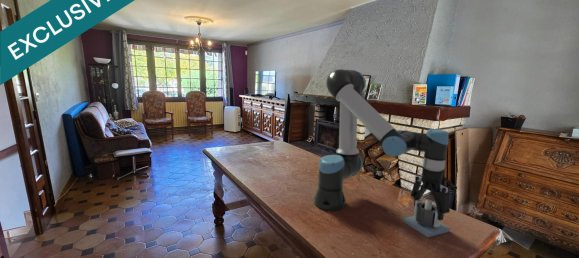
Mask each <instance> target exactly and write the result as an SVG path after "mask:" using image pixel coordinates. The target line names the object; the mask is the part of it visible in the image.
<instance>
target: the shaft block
mask: <svg viewBox="0 0 579 258" xmlns="http://www.w3.org/2000/svg"><path fill="white" fill-rule="evenodd" d="M424 203H425V210H430V211H431V208H432V205H433V201H432V200H431V199H425V202H424ZM415 216H416V215H412V216H408V217H403V222H404V223H405V224H406V225H408V226H409V227H411V228H412V229H414V230H415V231H417V232H419V233H420V234H421V235H423V236H425V237H426V238H430V237H434V236H438V235H442V234H445V233H449V232H450V229H451V228H450V227H448V226H447V225H445V224H443V223H442V222H441V224H440V226H439V227H434V226H433V227H430V226H426V225H422V224H421V223H419V222H417V221H416V218H415Z"/></svg>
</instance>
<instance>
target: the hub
mask: <svg viewBox="0 0 579 258" xmlns="http://www.w3.org/2000/svg"><path fill="white" fill-rule="evenodd" d="M436 211H438V210H437V206H436V205H434V204H432V208H431V211H430V210H425V202H421V203H418V204H417V208H416V215H414V216H415V218H416V221H417V222H419V223H421V224H422V225H426V226H430V227H433V226H434V220H435V212H436Z"/></svg>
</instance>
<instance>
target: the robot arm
mask: <svg viewBox="0 0 579 258" xmlns="http://www.w3.org/2000/svg"><path fill="white" fill-rule="evenodd" d="M325 83H326V89H327V91H328V92H329V94H330V95H331V96H332V97H333V98H334V99H335V100H336V101H337V102H339V137H338V138H339V139H338V141H339V142H338V144H339V145H338V148H337V149H336V150H335V154H327V155H324V156H322V157H321V158H320V159H319V165H318V183H317V184H318V187H317V190H316V192H315V196H314V199H313V200H314V202H313V204H314V205H315V206H316V207H318V208H319V209H321V210H324V211H330V212H336V211H340V210H342V209H344V208H345V206H346V197H345V194H344V191H343V188H344V187H343V186H344V184H343V183H344V180H347V179H348V178H351V177H355V176H356V175H357V174H358V173H359V174H360V172H361V170H362V168H363V165H364V164H363V163H364V162H363V158H362V157H361V155H360V150H358V148H357V134H358V133H357V132H358V121H360V122H361V123H362V125H363V126H364V127H366V129H367V130H368V131H369V132H371V134H372V135H373V136H374V137H375V138H376V139H377V140H378V141H379V142H380V143H381V144H382V145H381V147H382V150H383V152H384V153H385V154H386V155H387V156H389V157H399V156H401V155H403V154H405V153H407V152H410V151H417V152H423V153H424V154H423V161H422V162H423V163H422V170H421V175H416V176H415V177H414V184H413V186H412V189H411V191H410V192H411V193H410V197H412V198H413V201H414V202H413V207H414V208H413V216H416V208H417V204H418V203H423V202H422V197H423V196H424V195H425V193H426V191H430V192H431V194H432V195H433V198H434V203H435V206H436V207H437V210H438V211H436V212H435V220H434V227H439V226H440V224H441V223H442V220H444V215H445V214H448V213H450V200H449V199H450V198H449V193H450V187H449V186H444V185H443V182H442V181H443V180H444V174H445V171H444V170H445V168H446V167H445V166H446V158H447V153H448V146H449V138H450V137H449V132H448V131H447V130H443V129H434V128H432V129H427V130H426V132H425V133H424V132H423V133H422V132H417V131H411V130H410V131H409V130H406V129H405V130H401V129H399V130H397V129H396V128H395V127H394V125H392V124H391V123H389V121H388V120H387V119H385V118H384V116H382V115H381V114H380V113H379V112H378V111H377V110H376V109H375V108H374V107H373V106H372V105H371V104H370V103H369V102H368V101H367V100H365V98H364V97H363V96H362V92H363V91H364V90H365V89H366V84H367V82H366V77H365V75H364V74H362V73H361V72H360V71H358V70H352V69H342V68H339V69H335V70H333V71H331V72H330V73H329V75H328V76H327V78H326V82H325Z"/></svg>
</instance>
